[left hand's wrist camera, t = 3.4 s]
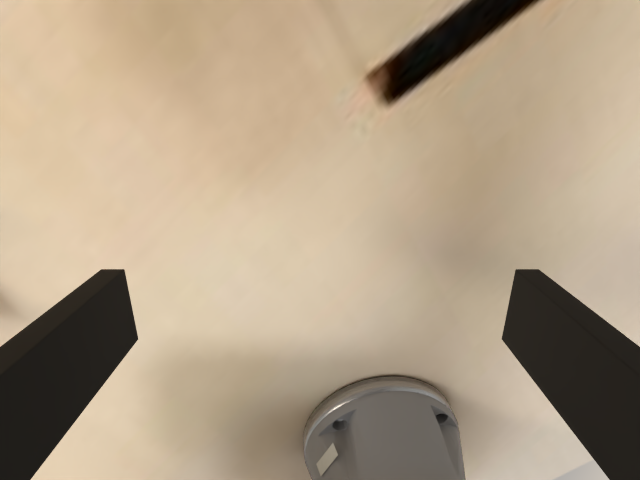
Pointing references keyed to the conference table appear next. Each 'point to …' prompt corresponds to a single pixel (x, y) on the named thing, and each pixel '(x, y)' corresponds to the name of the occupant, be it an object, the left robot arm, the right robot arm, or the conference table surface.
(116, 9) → the conference table surface
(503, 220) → the conference table surface
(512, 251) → the conference table surface
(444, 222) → the conference table surface
